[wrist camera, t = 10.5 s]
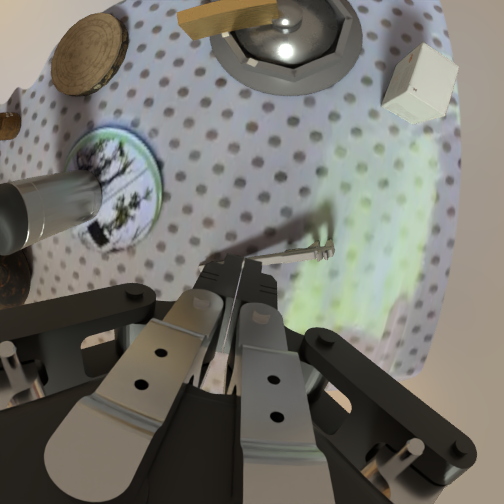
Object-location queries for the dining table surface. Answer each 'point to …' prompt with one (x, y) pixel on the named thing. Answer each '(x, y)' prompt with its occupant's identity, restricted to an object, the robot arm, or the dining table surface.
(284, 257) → the caliper
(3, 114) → the utensil holder
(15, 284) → the glass bottle
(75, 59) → the wooden log slice
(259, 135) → the dining table surface
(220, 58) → the dial housing
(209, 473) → the robot arm
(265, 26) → the dial
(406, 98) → the small box
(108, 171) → the dining table surface
